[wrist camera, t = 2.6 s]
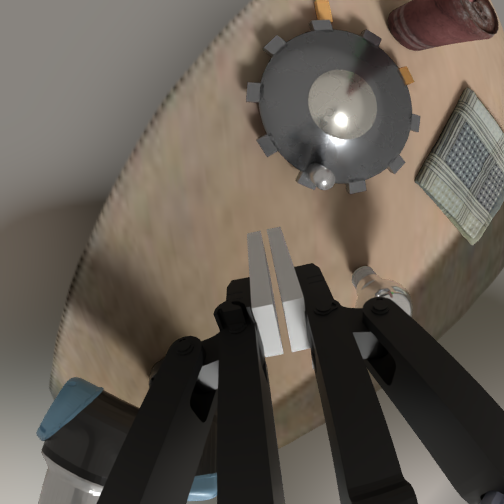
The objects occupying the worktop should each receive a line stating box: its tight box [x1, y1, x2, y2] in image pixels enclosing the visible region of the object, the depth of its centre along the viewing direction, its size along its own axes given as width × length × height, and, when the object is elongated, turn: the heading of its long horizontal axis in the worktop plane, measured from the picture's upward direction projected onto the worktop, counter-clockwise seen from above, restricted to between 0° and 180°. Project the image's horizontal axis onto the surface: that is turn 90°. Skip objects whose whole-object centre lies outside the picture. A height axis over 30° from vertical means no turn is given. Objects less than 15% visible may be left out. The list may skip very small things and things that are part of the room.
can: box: [388, 0, 498, 51], centre depth 15 cm, size 6×6×14 cm
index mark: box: [314, 0, 333, 23], centre depth 21 cm, size 3×1×1 cm, turn 7°
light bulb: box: [352, 266, 413, 317], centre depth 31 cm, size 7×7×12 cm
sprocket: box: [246, 20, 420, 194], centre depth 23 cm, size 19×20×5 cm
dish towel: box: [415, 88, 504, 245], centre depth 29 cm, size 19×18×3 cm
